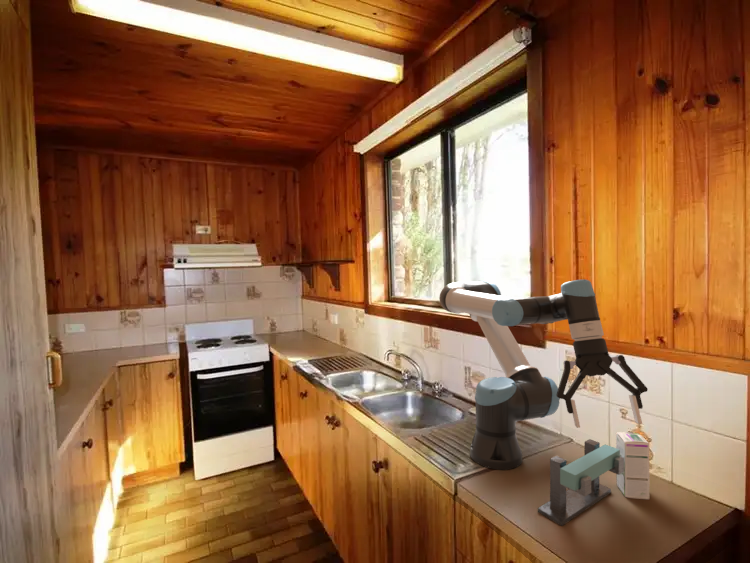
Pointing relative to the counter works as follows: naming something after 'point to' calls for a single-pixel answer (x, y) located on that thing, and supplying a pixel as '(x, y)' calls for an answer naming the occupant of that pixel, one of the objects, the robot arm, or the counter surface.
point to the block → (588, 466)
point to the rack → (571, 501)
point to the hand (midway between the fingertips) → (607, 425)
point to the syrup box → (633, 465)
